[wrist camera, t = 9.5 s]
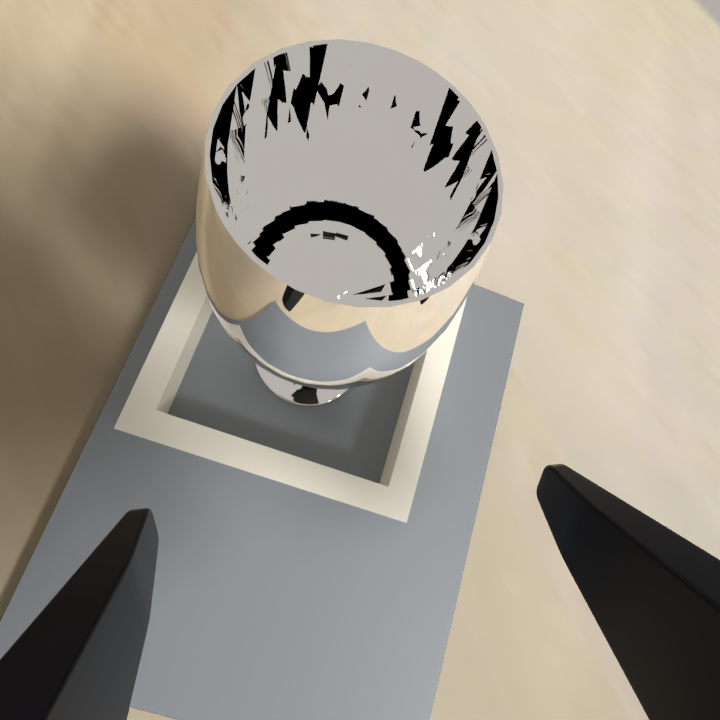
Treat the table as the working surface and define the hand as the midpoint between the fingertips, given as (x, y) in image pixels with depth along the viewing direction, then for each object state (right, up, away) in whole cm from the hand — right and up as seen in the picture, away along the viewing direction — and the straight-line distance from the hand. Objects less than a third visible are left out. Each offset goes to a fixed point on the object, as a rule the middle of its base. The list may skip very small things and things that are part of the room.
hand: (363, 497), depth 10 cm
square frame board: (-2, -1, +8) cm, 8 cm away
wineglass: (-2, +3, +8) cm, 9 cm away
